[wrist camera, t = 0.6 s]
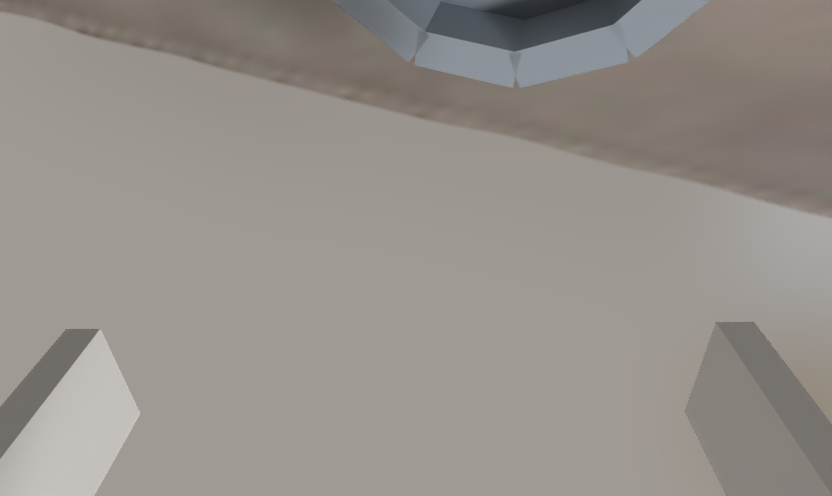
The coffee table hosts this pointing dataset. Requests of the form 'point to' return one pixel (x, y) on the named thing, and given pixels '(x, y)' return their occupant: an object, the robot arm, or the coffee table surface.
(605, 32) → the candle dish
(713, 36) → the coffee table surface
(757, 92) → the coffee table surface
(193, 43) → the coffee table surface
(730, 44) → the coffee table surface
